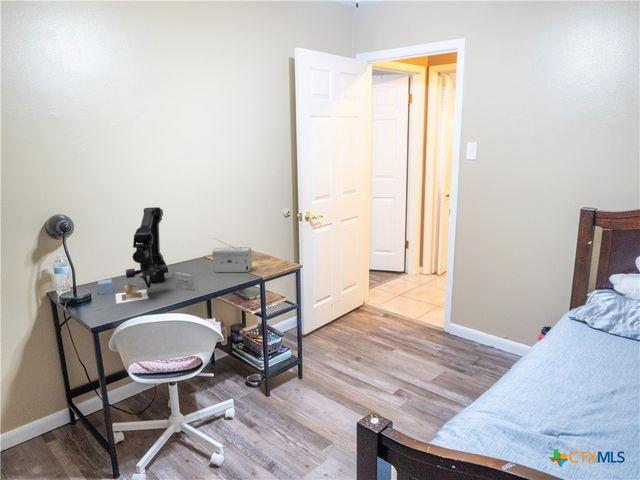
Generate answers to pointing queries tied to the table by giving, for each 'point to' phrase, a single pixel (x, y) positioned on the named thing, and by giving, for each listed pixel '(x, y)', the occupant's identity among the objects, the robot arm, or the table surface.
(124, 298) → the letter plate
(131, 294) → the oak block
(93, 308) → the table surface
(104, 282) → the slate-blue cube
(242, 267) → the stereo radio cassette player
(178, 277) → the cassette
